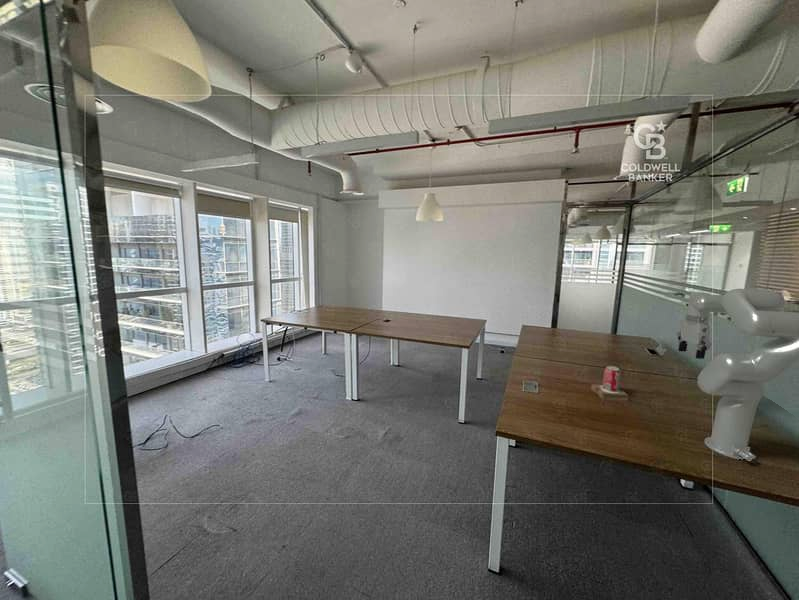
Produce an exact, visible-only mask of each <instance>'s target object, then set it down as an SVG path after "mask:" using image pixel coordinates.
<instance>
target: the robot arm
mask: <svg viewBox="0 0 799 600" xmlns="http://www.w3.org/2000/svg"><path fill="white" fill-rule="evenodd" d="M688 297H689V298H688V303H687V310H686V315H685V320H684V323H683V324H682V328H681V331H679V332H677V333H676V334H677V339H678V343H679V344H678V352H683V353H684V352H687V350H688V349H687V348H688V343H689V344H691V345H696V347H697V349H696V351H695V352H696V353H695V358H696V359H702V360H704V359H705V356H706V352H707V351H708V350H709V349H710V347H712V345H713V343H712V342H711V341H710V333H711V332H710V331H711V329H710V324H709V321H710V315H711V314H710V313H723V314H724V313H726V314H728V316H729V318H731V320H732V321H733V322H734V323H735V325H736V326H737V327H738V329H740V331H742V332H743V333H745V334H747V335H750V336H755V337H767V338H775V339H772V340H770V341H767V342H765V343H763V344H761V345H760V346H759V347H758V348H756V349H755V350H754V351H753V352H750V353H734V352H732V353H731V352H728V353H727V352H725V353H720V354H717V355H715V357H713V358H712V359H711V360H710V362H708V364H706V366H705V367H704V368H703V369H702V370H701V371H700V373H699V374H698V377H697V386H698V388H699V389H700V390H701V391H702V392H704V393H705V394H707V395H712V396H719V397H721V398H720V399H719V401H718V403H717V406H716V411H715V416H714V421H713V427H712V430H711V436H709V437H706V438H704V444H705V445H706V446H707V447H708V448H709V449H711V450H712V451H714V452H716V453H718V454H720V455H723V456H725V457H727V458H731V459H734V460H739V459H741V460H740V461H744V460H743V459H746V460H745V461H747V462H751V461H752V460H755V459H756V457H757V456H756V454H755V455H754V454H753V453H752V452H751V451H750V450H751V447H750V446H748V445H749V442H750V436H751V431H752V428H753V423H754V418H755V414H756V410H757V408H758V404H759V403H760V400H762V397H763V396H764V393H765V390H766V386H765V383H769V382H771V381H773V380H775V379H777V377H779V376H780V375H781V374H783V373H784V372H785V371H786V370H788V369H789V368H790V367H791V366H792V365H793V364H795V363H797V362H798V361H799V312H797V311H796V312H793V311H780V310H781V309H782V308H784V306H785V304H786V300H785V297H784V296H783V295H782V294H781V293H779V292H777V291H775V290H772V289H761V288H760V289H758V288H755V289H754V288H753V289H752V288H734V289H730V290H729V291H726V292H725V294H711V293H708V292H701V291H700V292H699V291H698V292H691V293H690V295H689V296H688Z"/></svg>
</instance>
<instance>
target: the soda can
mask: <svg viewBox="0 0 799 600" xmlns="http://www.w3.org/2000/svg"><path fill="white" fill-rule="evenodd" d="M620 379H621V371H620V368H618V367H617V366H611V365H607V366H606V367H605V369H604V371H603V378H602V384H603V388H605V389H606V390H608V391H612V392H614V391H617V390H618V388H619V387H620V382H621V381H620ZM619 389H620V388H619Z"/></svg>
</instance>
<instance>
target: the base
mask: <svg viewBox="0 0 799 600" xmlns="http://www.w3.org/2000/svg"><path fill="white" fill-rule="evenodd" d="M590 386H591V387H590V390H591V391H593V393H595V394H596V393H597V394H598V395H599V396H598V395H597V394H596V395H597V396H598V397H599V398H600V399H602V400H605V401H623V402H628V400H629V397H630V396H629V394H627V393H626V392H625V391H623V390H622V389H620V388H618V390H617V391H614V392H612V391H608V390H606V389H605V388H603V383H602V384H601V383H600V384H599V383H598V384H597V383H592V384H591V385H590Z"/></svg>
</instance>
